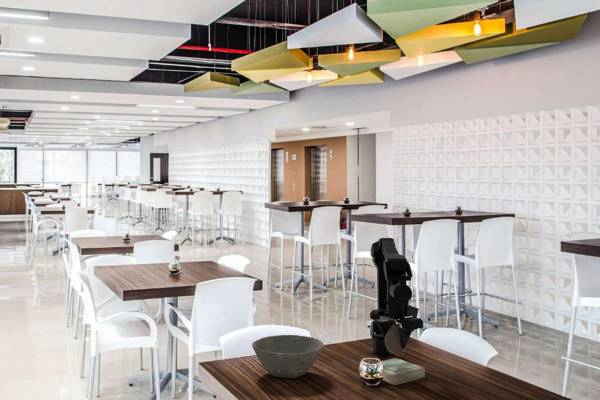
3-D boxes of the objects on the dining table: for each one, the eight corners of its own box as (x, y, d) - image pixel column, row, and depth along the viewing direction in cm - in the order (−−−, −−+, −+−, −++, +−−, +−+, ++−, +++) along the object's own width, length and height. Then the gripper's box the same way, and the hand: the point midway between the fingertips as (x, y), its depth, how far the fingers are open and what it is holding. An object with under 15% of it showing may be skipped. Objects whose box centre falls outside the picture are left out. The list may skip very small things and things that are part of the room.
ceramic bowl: (254, 363, 190) (254, 334, 190) (321, 364, 190) (322, 334, 190) (248, 386, 167) (248, 353, 167) (325, 386, 168) (325, 353, 168)
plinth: (366, 373, 180) (366, 363, 180) (395, 366, 187) (395, 357, 187) (395, 385, 169) (395, 374, 169) (425, 377, 176) (425, 367, 176)
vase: (406, 355, 174) (406, 327, 174) (384, 354, 175) (384, 326, 175) (406, 349, 181) (406, 322, 181) (385, 348, 182) (385, 321, 182)
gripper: (435, 299, 175) (435, 348, 175) (393, 290, 190) (393, 335, 190) (410, 302, 168) (410, 354, 169) (369, 293, 184) (368, 340, 184)
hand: (395, 345), depth 178 cm, fingers closed on vase, 7 cm apart
